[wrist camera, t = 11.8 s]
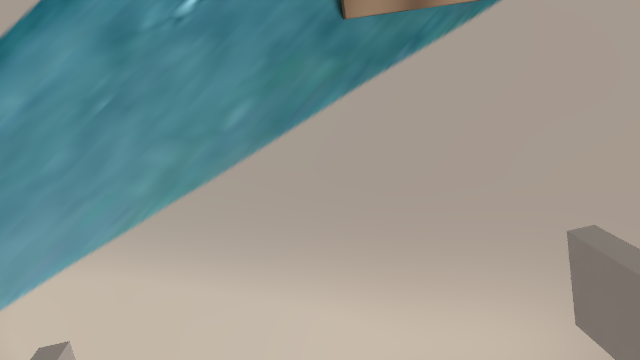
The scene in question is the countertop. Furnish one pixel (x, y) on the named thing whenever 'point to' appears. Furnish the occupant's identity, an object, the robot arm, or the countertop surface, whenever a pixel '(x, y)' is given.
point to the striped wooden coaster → (389, 6)
